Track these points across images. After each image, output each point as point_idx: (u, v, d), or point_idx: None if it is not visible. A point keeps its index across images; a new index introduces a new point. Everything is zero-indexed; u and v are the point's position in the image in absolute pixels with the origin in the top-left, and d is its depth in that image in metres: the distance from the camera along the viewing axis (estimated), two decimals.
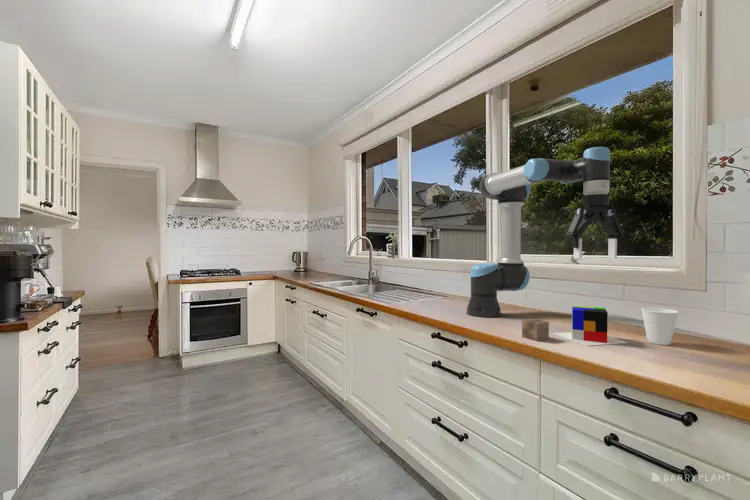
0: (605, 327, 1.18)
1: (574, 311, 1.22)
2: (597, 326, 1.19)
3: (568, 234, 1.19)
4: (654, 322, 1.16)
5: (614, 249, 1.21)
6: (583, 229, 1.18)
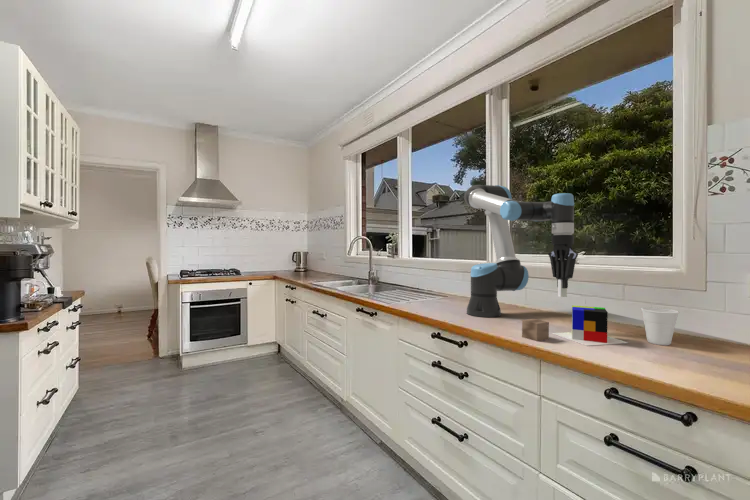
0: (605, 327, 1.18)
1: (574, 311, 1.22)
2: (597, 326, 1.19)
3: None
4: (654, 322, 1.16)
5: None
6: (557, 269, 1.37)
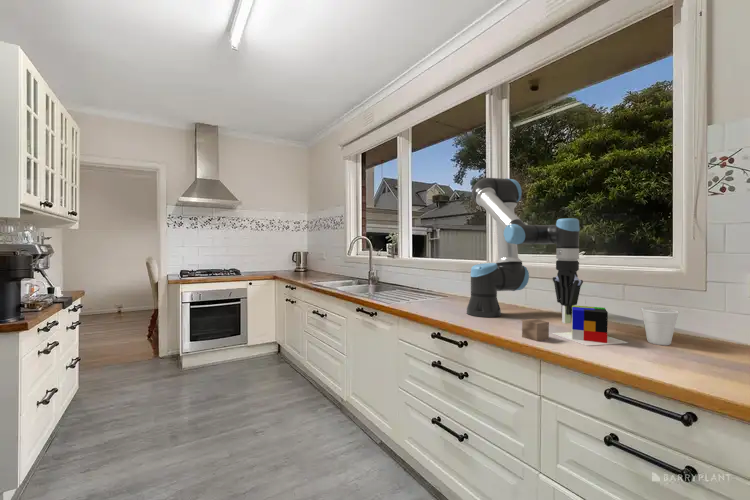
0: (605, 327, 1.18)
1: (574, 311, 1.22)
2: (597, 326, 1.19)
3: None
4: (654, 322, 1.16)
5: None
6: (561, 295, 1.35)
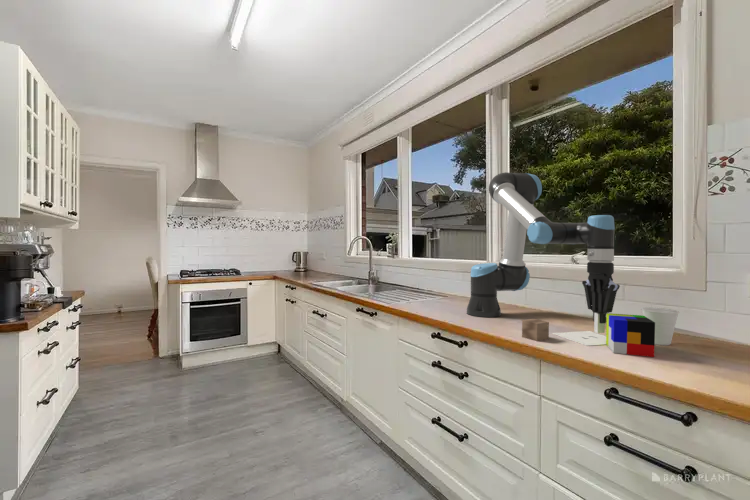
0: (652, 339, 1.04)
1: (616, 321, 1.07)
2: (643, 338, 1.04)
3: None
4: None
5: None
6: (593, 301, 1.21)
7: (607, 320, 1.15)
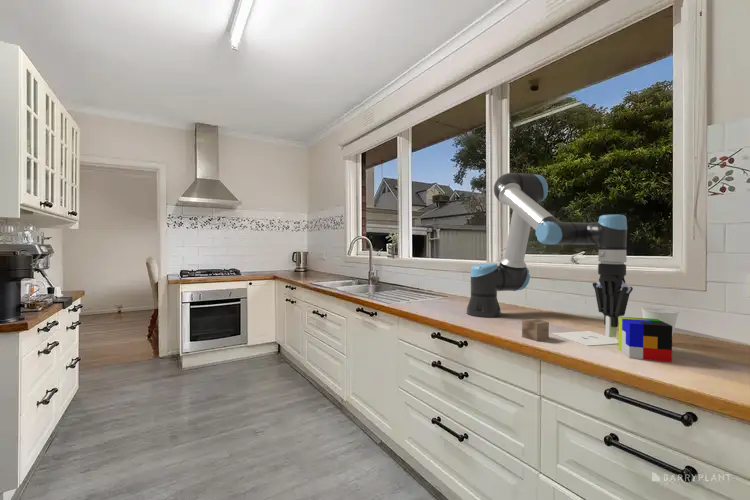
0: (669, 343, 0.99)
1: (631, 325, 1.02)
2: (659, 342, 1.00)
3: None
4: None
5: None
6: (604, 304, 1.16)
7: (620, 324, 1.10)
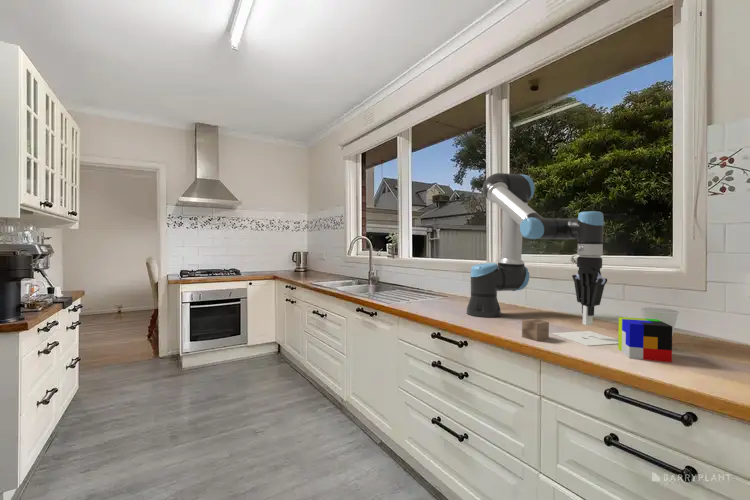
0: (669, 344, 0.99)
1: (632, 325, 1.02)
2: (660, 342, 1.00)
3: None
4: None
5: None
6: (582, 294, 1.25)
7: (620, 324, 1.10)
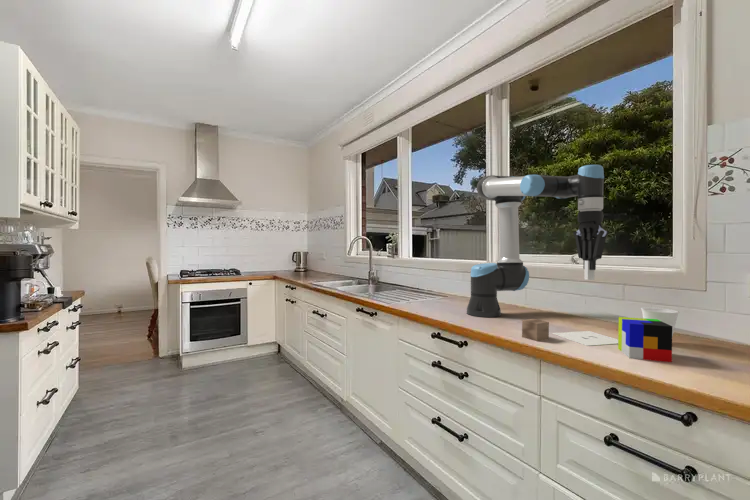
0: (669, 344, 0.99)
1: (632, 325, 1.02)
2: (660, 342, 1.00)
3: None
4: None
5: None
6: (583, 249, 1.25)
7: (620, 324, 1.10)
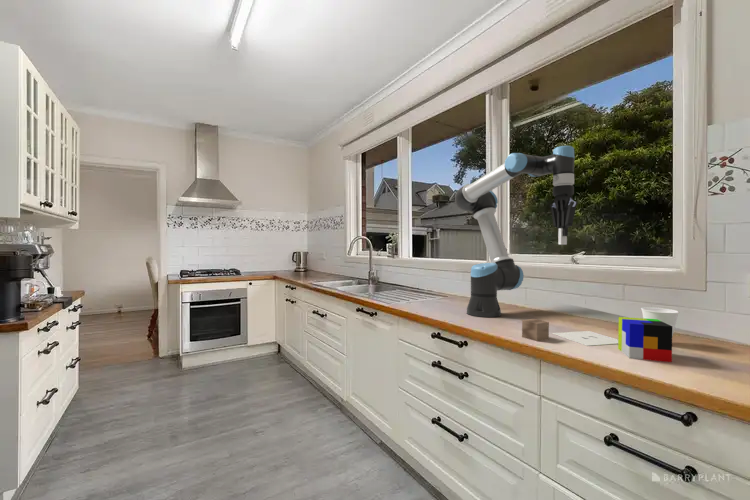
0: (669, 344, 0.99)
1: (632, 325, 1.02)
2: (660, 342, 1.00)
3: None
4: None
5: None
6: (558, 219, 1.45)
7: (620, 324, 1.10)
